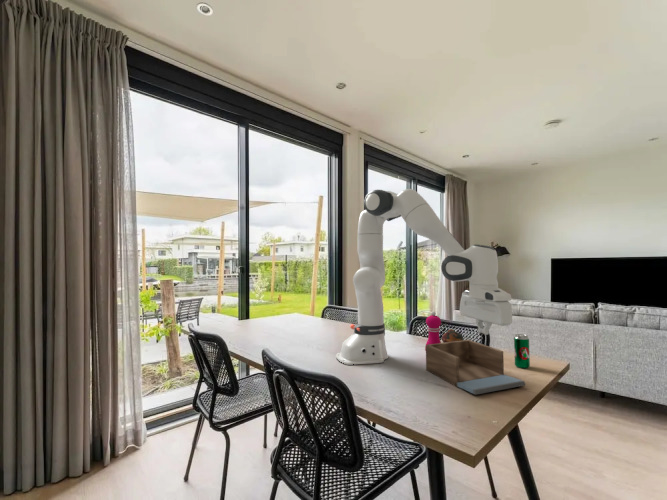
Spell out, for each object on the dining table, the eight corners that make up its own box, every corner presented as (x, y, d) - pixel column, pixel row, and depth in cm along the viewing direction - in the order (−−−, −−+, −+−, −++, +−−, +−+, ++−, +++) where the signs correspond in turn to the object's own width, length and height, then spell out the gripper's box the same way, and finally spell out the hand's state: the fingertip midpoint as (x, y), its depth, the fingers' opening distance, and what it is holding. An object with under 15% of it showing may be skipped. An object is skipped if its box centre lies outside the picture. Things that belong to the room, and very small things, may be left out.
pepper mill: (434, 364, 129) (433, 313, 130) (421, 359, 136) (420, 311, 136) (447, 361, 133) (446, 312, 133) (434, 356, 139) (433, 309, 140)
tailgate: (457, 386, 106) (475, 394, 99) (457, 382, 106) (474, 390, 99) (504, 378, 113) (525, 385, 105) (504, 374, 113) (524, 381, 105)
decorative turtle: (460, 344, 157) (460, 327, 157) (467, 353, 142) (467, 335, 142) (439, 343, 159) (439, 327, 159) (444, 353, 144) (444, 334, 144)
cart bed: (456, 386, 107) (455, 357, 107) (426, 370, 123) (425, 344, 123) (504, 378, 113) (503, 351, 113) (469, 363, 129) (468, 339, 129)
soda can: (517, 363, 128) (516, 333, 128) (531, 366, 125) (530, 335, 125) (512, 366, 125) (512, 335, 125) (527, 370, 121) (526, 337, 121)
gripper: (455, 289, 119) (455, 327, 118) (499, 296, 99) (499, 342, 99) (469, 289, 121) (469, 326, 120) (515, 296, 101) (515, 340, 101)
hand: (483, 333), depth 110 cm, fingers closed
